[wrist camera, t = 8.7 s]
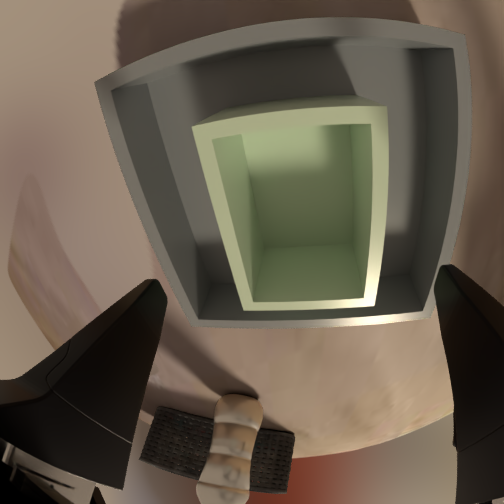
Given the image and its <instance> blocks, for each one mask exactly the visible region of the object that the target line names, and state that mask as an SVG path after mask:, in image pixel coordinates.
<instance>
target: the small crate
mask: <svg viewBox="0 0 504 504" xmlns="http://www.w3.org/2000/svg"><path fill="white" fill-rule="evenodd" d="M192 131H193V135H194V138H195V142H196V146H197V150H198V154H199V157H200V161H201V165H202V169H203V172H204V176H205V180H206V183H207V187H208V191H209V194H210V198H211V202H212V205H213V209H214V212H215V216H216V219H217V223H218V226H219V230H220V233H221V237H222V240H223V244H224V247H225V251H226V254H227V257H228V261H229V264H230V268H231V271H232V274H233V278H234V281H235V284H236V288H237V291H238V294H239V297H240V301H241V304H242V307H243V310H244V311H266V310H310V309H334V308H352V307H367V306H374V305H375V299H376V294H377V288H378V282H379V276H380V269H381V262H382V254H383V246H384V237H385V227H386V215H387V200H388V176H389V137H388V114H387V106H385V105H382V104H380V103H377V102H375V101H372V100H369V99H367V98H364V97H361V96H358V95H330V96H313V97H300V98H290V99H281V100H273V101H265V102H258V103H252V104H246V105H240V106H234V107H229V108H226V109H224V110H222V111H220V112H218V113H216V114H214V115H212V116H210V117H208V118H206V119H204V120H202V121H201V122H199V123H197V124H195V125H193V126H192Z"/></svg>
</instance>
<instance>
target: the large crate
mask: <svg viewBox="0 0 504 504" xmlns="http://www.w3.org/2000/svg"><path fill="white" fill-rule="evenodd" d="M95 87H96V91H97V94H98V98H99V102H100V105H101V108H102V112H103V116H104V119H105V122H106V126H107V129H108V132H109V135H110V138H111V142H112V144H113V148H114V151H115V154H116V157H117V160H118V162H119V165H120V168H121V171H122V173H123V176H124V179H125V182H126V185H127V187H128V190H129V192H130V195H131V198H132V200H133V203H134V205H135V208H136V210H137V213H138V215H139V217H140V220H141V222H142V225H143V227H144V229H145V232H146V234H147V236H148V239H149V241H150V243H151V245H152V248H153V250H154V252H155V254H156V256H157V259H158V261H159V263H160V265H161V267H162V269H163V271H164V274H165V276H166V278H167V280H168V282H169V284H170V286H171V288H172V290H173V292H174V294H175V296H176V298H177V300H178V302H179V304H180V306H181V308H182V310H183V312H184V313H185V315H186V317H187V319H188V321H189V323H190V325H191V326H193V327H214V328H253V329H282V328H321V327H341V326H357V325H370V324H382V323H393V322H402V321H411V320H419V319H427V318H431V315H432V313H433V310H434V308H435V305H436V300H435V295H434V284H435V281H436V277H437V274H438V271H439V268H440V266H441V265H447V264H450V261H451V257H452V254H453V250H454V246H455V243H456V239H457V234H458V230H459V226H460V221H461V217H462V212H463V206H464V201H465V195H466V188H467V181H468V174H469V165H470V154H471V139H472V90H471V75H470V65H469V57H468V50H467V43H466V37H465V35H464V34H461V33H457V32H453V31H450V30H446V29H441V28H437V27H432V26H427V25H422V24H417V23H411V22H404V21H396V20H388V19H377V18H360V17H320V18H303V19H292V20H283V21H275V22H268V23H262V24H256V25H250V26H245V27H240V28H236V29H231V30H227V31H223V32H219V33H215V34H211V35H207V36H204V37H200V38H197V39H194V40H190V41H187V42H184V43H181V44H178V45H175V46H173V47H170V48H167V49H164V50H162V51H159V52H157V53H154V54H152V55H149V56H147V57H144V58H142V59H140V60H138V61H135V62H133V63H131V64H129V65H127V66H124V67H122V68H120V69H118V70H116V71H114V72H112V73H110V74H108V75H107V76H105V77H103V78H101V79H99V80H97V81H96V82H95ZM330 95H358V96H361V97H364V98H367V99H369V100H372V101H375V102H377V103H380V104H382V105H385V106H387V114H388V137H389V176H388V200H387V215H386V227H385V237H384V246H383V254H382V262H381V269H380V276H379V282H378V288H377V294H376V299H375V305H374V306H367V307H352V308H334V309H310V310H266V311H244V310H243V307H242V304H241V301H240V297H239V294H238V291H237V288H236V284H235V281H234V278H233V274H232V271H231V268H230V264H229V261H228V257H227V254H226V251H225V247H224V244H223V240H222V237H221V233H220V230H219V226H218V223H217V219H216V216H215V212H214V209H213V205H212V202H211V198H210V194H209V191H208V187H207V183H206V180H205V176H204V172H203V169H202V165H201V161H200V157H199V154H198V150H197V146H196V142H195V138H194V135H193V131H192V126H193V125H195V124H197V123H199V122H201V121H202V120H204V119H206V118H208V117H210V116H212V115H214V114H216V113H218V112H220V111H222V110H224V109H226V108H229V107H234V106H240V105H246V104H252V103H258V102H265V101H273V100H281V99H290V98H300V97H313V96H330Z"/></svg>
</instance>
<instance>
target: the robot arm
mask: <svg viewBox="0 0 504 504" xmlns="http://www.w3.org/2000/svg"><path fill="white" fill-rule="evenodd" d="M434 295H435V300H436V306H437V311H438V317H439V324H440V330H441V336H442V340H443V345H444V349H445V354H446V359H447V363H448V369H449V374H450V380H451V386H452V393H453V401H454V412H453V418H454V436H453V446H454V447H456V450H457V489H456V502H455V504H476V503H477V504H504V306H503V305H501V304H500V303H499V302H498V301H497V300H496V299H495V298H493V297H492V296H491V295H490V294H489V293H488V292H486V291H485V290H484V289H483V288H482V287H481V286H479V285H478V284H477V283H476V282H474V281H473V280H472V279H471V278H469V277H468V276H467V275H466V274H464V273H463V272H462V271H461V270H459V269H458V268H457V267H455V266H454V265H452V264H447V265H441V266H440V268H439V271H438V274H437V277H436V281H435V284H434ZM166 307H167V296H166V294H165V292H164V290H163V288H162V286H161V284H160V282H159V281H158V280H157V279H147V280H145V281H144V282H142V283H141V284H139V285H138V286H137V287H135V288H134V289H133V290H132V291H130V292H129V293H127V294H126V295H125V296H124V297H122V298H121V299H120V300H118V301H117V302H116V303H114V304H113V305H112V306H110V308H108V309H107V310H106V311H104V312H103V313H102V314H100V315H99V316H98V317H96V318H95V319H94V320H93V321H91V322H90V323H89V324H88V325H86V326H85V327H84V328H83V329H81V330H80V331H79V332H78V333H77V334H75V335H74V336H73V337H72V338H71V339H69V340H68V341H67V342H66V343H64V344H63V345H62V346H61V347H59V348H58V349H57V350H56V351H54V352H53V353H52V354H50V355H49V356H48V357H46V358H45V359H44V360H42V361H41V362H40V363H38V364H37V365H36V366H34V367H33V368H32V369H30V370H29V371H28V372H26V373H25V374H23V375H22V376H20V377H18V378H16V379H11V380H0V504H106V503H105V501H104V499H103V497H102V495H101V492H100V490H99V488H98V487H96V486H95V485H96V483H98V484H101V485H104V486H108V487H111V488H114V489H118V490H123V487H124V481H125V476H126V471H127V466H128V461H129V456H130V451H131V447H132V442H133V438H134V433H135V429H136V425H137V421H138V417H139V413H140V409H141V405H142V401H143V397H144V393H145V390H146V386H147V382H148V379H149V375H150V371H151V368H152V365H153V361H154V358H155V354H156V351H157V348H158V344H159V340H160V336H161V331H162V326H163V321H164V316H165V312H166Z"/></svg>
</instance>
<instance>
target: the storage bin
mask: <svg viewBox="0 0 504 504" xmlns="http://www.w3.org/2000/svg"><path fill="white" fill-rule="evenodd" d="M213 429H214V420H212V419H208V418H204V417H200V416H196V415H192V414H188V413H185V412H181V411H178V410H174V409H169V408H165V407H158V408H157V412H156V413H155V416H154V420H153V421H152V424H151V428H150V430H149V433H148V436H147V438H146V441H145V445H144V448H143V450H142V453H141V457H140V458H139V460H141V461H143V462H146V463H148V464H150V465H152V466H155V467H157V468H160V469H162V470H165V471H168V472H171V473H174V474H178V475H181V476H185V477H188V478H192V479H195V480H199V478H200V476H201V473H202V471H203V469H204V466H205V464H206V461H207V457H208V455H209V453H210V452H209V451H210V447H211V443H212V436H213ZM186 437H187V438H186ZM200 441H202V442H200ZM294 442H295V436H294V435H292V434H288V433H283V432H279V431H273V430H266V429H259V430H258V431H257V436H256V440H255V444H254V447H253V451H252V458H251V461H250V462H251V466H250V489H249V491H255V492H264V493H274V494H279V493H280V494H281V493H282V494H283V493H284V494H285V493H287V487H288V486H287V485H288V480H289V474H290V470H291V462H292V454H293V447H294ZM200 445H201V446H200ZM182 451H183V452H182ZM191 453H192V454H191ZM197 455H199V456H197ZM202 456H204V457H202ZM201 460H202V461H201ZM177 464H179V465H177ZM184 466H185V467H184ZM187 467H188V468H187ZM260 467H261V468H260ZM192 468H194V469H195V470H194V469H192ZM198 470H200V471H198ZM252 481H253V482H252ZM258 481H259V482H260V483H259V482H258Z"/></svg>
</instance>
